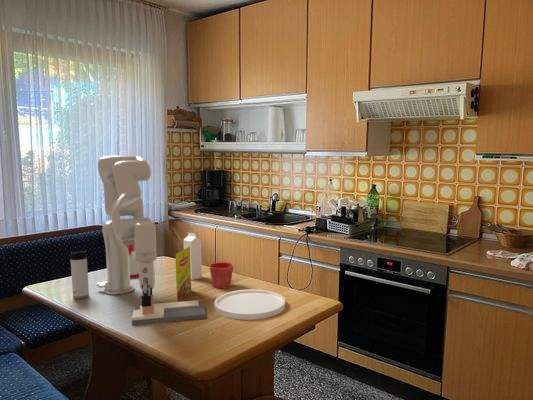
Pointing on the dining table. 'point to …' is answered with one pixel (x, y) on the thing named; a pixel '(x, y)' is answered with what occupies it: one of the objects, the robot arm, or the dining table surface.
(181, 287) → the food package
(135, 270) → the kitchen timer
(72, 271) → the travel mug
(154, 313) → the cream and peach block
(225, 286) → the flower pot
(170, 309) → the mat
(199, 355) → the dining table surface
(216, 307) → the plate
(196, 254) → the milk
